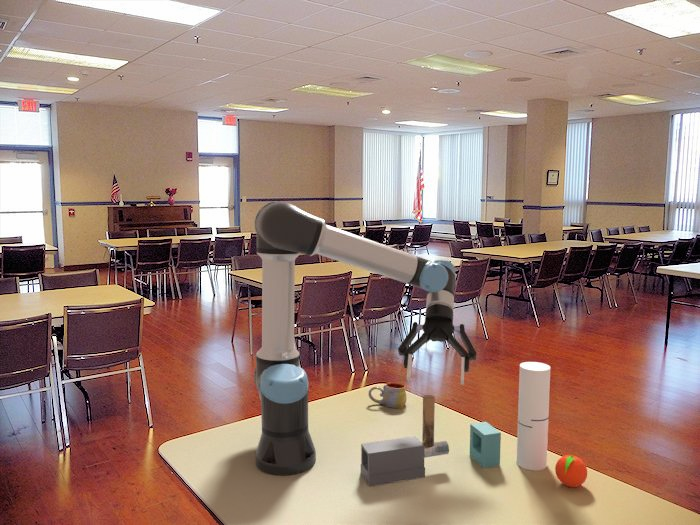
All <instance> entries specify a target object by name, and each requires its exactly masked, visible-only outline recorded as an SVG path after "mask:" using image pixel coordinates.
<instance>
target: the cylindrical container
mask: <svg viewBox="0 0 700 525" xmlns="http://www.w3.org/2000/svg"><path fill="white" fill-rule="evenodd" d="M518 375H519V377H518V379H519V380H518V383H519V384H518V386H519V387H518V410H517V434H516V435H517V437H516V438H517V439H516V442H517V443H516V464H517V465H518V466H519V467H521V468H522V469H525V470H528V471H536V472H537V471H542V470H545V469H546V468H547V463H548V462H547V461H548V439H549V436H548V435H549V414H550V394H551V393H550V390H551V388H550V385H551V366H550V365H549V364H547V363H544V362H539V361H538V362H537V361H525V362H524V361H523V362H521V363H520V364H519V374H518Z"/></svg>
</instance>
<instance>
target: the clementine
mask: <svg viewBox="0 0 700 525" xmlns="http://www.w3.org/2000/svg"><path fill="white" fill-rule="evenodd" d="M554 472H555V475H556V477H557V479H558V480H559V481H560V483H562V484H563V485H564V486H567V487H569V488H576V487H580V486H582V484H584V483H585V482H586V480H587V478H588V468H587V466H586V463H585V462H584V461H583V460H582V459H581V458H580V457H578V456H576V455H574V454H573V455H572V454H566V455H564V456H563V455H562V456H561V457H560V458H559V459H557V461H556V463H555V467H554Z"/></svg>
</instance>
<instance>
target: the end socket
mask: <svg viewBox="0 0 700 525" xmlns="http://www.w3.org/2000/svg"><path fill="white" fill-rule="evenodd" d="M469 426H470V427H469V428H470V430H469V456H470V457H471V458H472V460H474V461H475V462H477V463H478V465H479V466H481V468H483V469H486V468H494V467H498V466H499V467H500V465H501V445H502V444H501V443H502V442H501V440H502V439H501V438H502V437H501V436H502V434H501V433H502V432H500V431H499V430H498V429H497V428H495V427H494V426H493V425H491V424H490V423H488V422H487V421H481V422H474V423H470V425H469Z"/></svg>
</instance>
